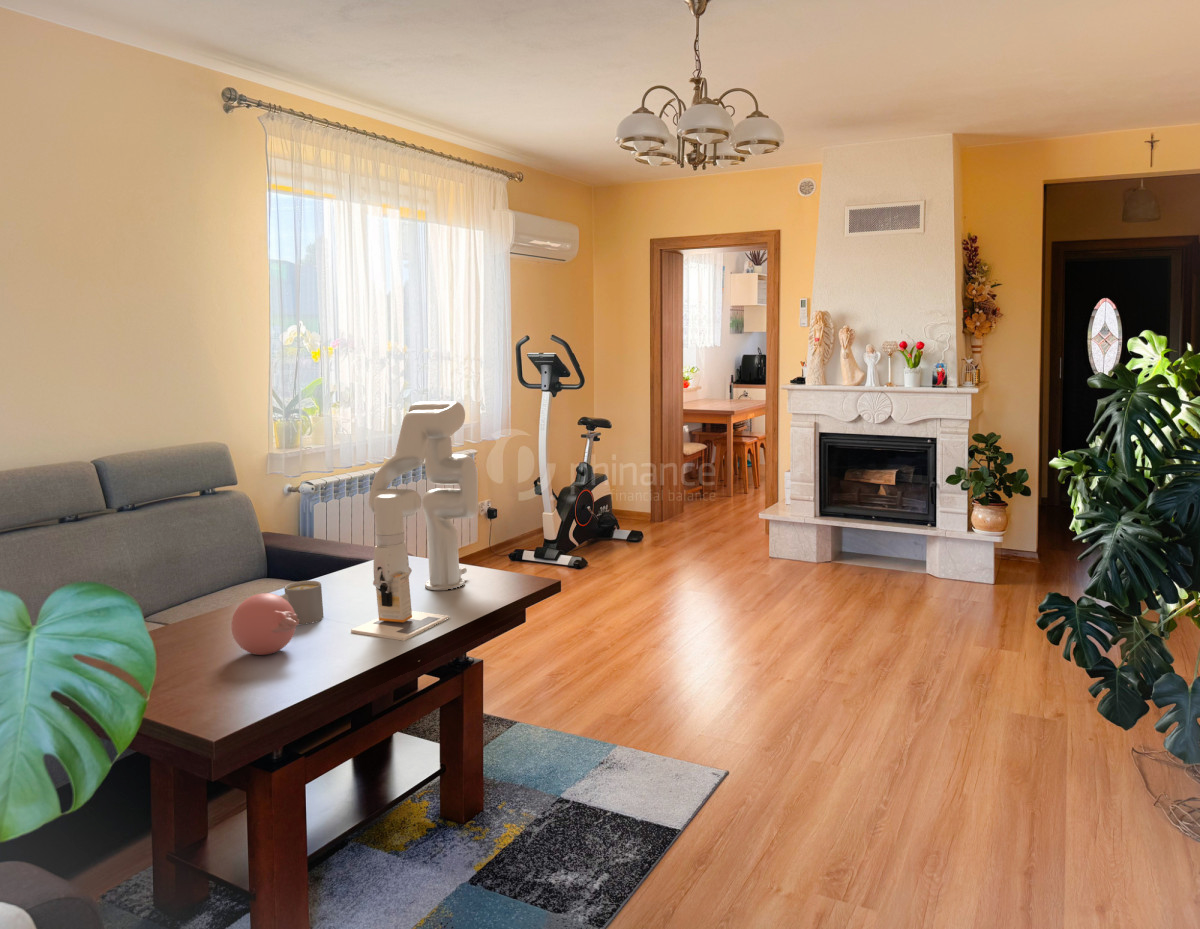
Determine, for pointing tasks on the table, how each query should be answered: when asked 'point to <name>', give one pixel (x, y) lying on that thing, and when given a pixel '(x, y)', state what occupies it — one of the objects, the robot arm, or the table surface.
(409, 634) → the board
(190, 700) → the table surface
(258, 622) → the balloon
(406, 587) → the supplement box
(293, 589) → the coffee mug
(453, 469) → the robot arm
